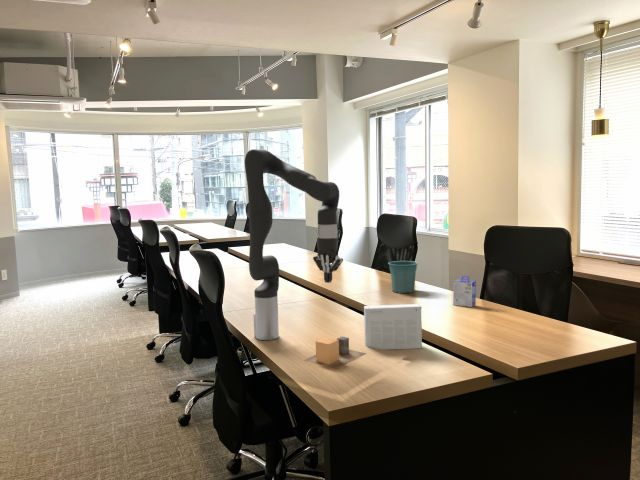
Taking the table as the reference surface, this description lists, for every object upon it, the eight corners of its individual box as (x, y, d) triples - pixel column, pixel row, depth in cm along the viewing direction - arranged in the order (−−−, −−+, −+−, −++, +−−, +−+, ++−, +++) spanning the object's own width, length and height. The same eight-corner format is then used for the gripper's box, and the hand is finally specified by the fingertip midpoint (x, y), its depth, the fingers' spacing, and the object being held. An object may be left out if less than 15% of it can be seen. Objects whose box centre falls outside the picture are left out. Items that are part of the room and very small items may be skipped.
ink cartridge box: (476, 305, 250) (476, 276, 248) (472, 307, 246) (472, 278, 244) (457, 302, 256) (457, 274, 254) (452, 305, 252) (453, 276, 250)
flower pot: (382, 289, 289) (382, 262, 288) (406, 286, 296) (406, 259, 294) (399, 295, 275) (398, 266, 273) (423, 292, 281) (423, 263, 280)
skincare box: (419, 344, 194) (419, 303, 192) (422, 348, 188) (422, 307, 186) (364, 345, 193) (363, 305, 191) (365, 350, 188) (365, 308, 186)
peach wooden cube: (316, 361, 173) (315, 341, 173) (326, 356, 178) (325, 337, 177) (329, 364, 170) (328, 344, 169) (339, 359, 174) (338, 339, 174)
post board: (303, 364, 175) (303, 344, 174) (335, 350, 189) (334, 331, 188) (336, 373, 166) (336, 352, 165) (366, 357, 180) (366, 338, 179)
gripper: (307, 236, 189) (308, 282, 191) (335, 238, 181) (336, 286, 183) (319, 234, 195) (320, 278, 197) (347, 236, 187) (348, 282, 189)
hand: (328, 282), depth 190 cm, fingers closed
